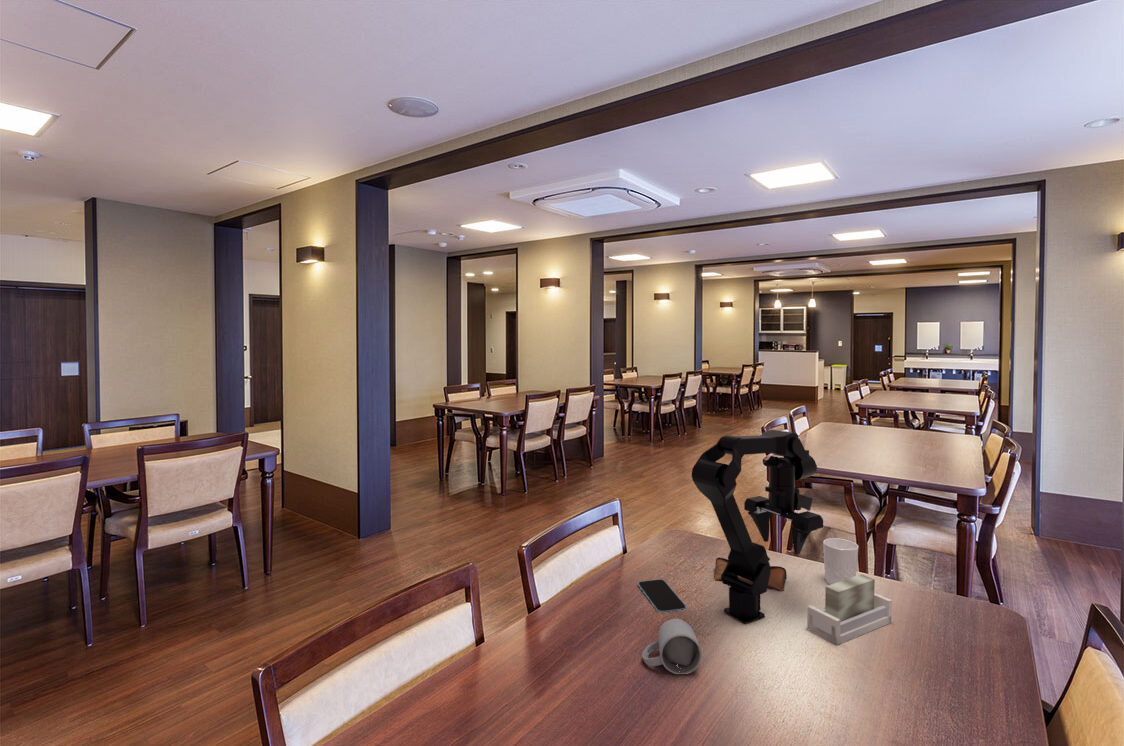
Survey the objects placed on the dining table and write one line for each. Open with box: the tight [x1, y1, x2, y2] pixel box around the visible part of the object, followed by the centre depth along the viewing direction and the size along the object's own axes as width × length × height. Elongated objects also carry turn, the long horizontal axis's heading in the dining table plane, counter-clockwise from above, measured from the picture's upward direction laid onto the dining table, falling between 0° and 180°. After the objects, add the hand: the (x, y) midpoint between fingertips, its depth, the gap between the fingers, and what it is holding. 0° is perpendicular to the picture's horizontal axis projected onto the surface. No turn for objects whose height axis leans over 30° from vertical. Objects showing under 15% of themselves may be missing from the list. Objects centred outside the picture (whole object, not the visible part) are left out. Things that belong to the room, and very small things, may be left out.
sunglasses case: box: [712, 557, 788, 593], centre depth 141 cm, size 18×7×7 cm, turn 67°
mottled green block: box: [824, 574, 876, 622], centre depth 117 cm, size 12×3×8 cm, turn 117°
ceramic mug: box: [642, 618, 702, 675], centre depth 105 cm, size 11×8×8 cm
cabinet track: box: [806, 592, 893, 646], centre depth 118 cm, size 18×7×5 cm, turn 117°
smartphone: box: [637, 578, 687, 613], centre depth 132 cm, size 7×1×15 cm
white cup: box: [822, 537, 859, 585], centre depth 138 cm, size 8×8×10 cm
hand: (781, 547), depth 131 cm, fingers open, 9 cm apart
